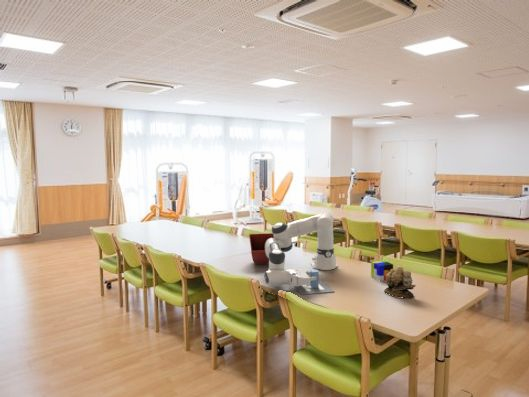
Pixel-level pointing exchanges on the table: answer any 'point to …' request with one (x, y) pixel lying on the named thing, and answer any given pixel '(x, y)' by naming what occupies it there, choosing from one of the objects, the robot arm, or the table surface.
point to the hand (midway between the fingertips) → (314, 275)
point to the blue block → (314, 282)
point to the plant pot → (259, 247)
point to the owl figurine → (399, 283)
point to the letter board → (314, 289)
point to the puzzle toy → (380, 269)
